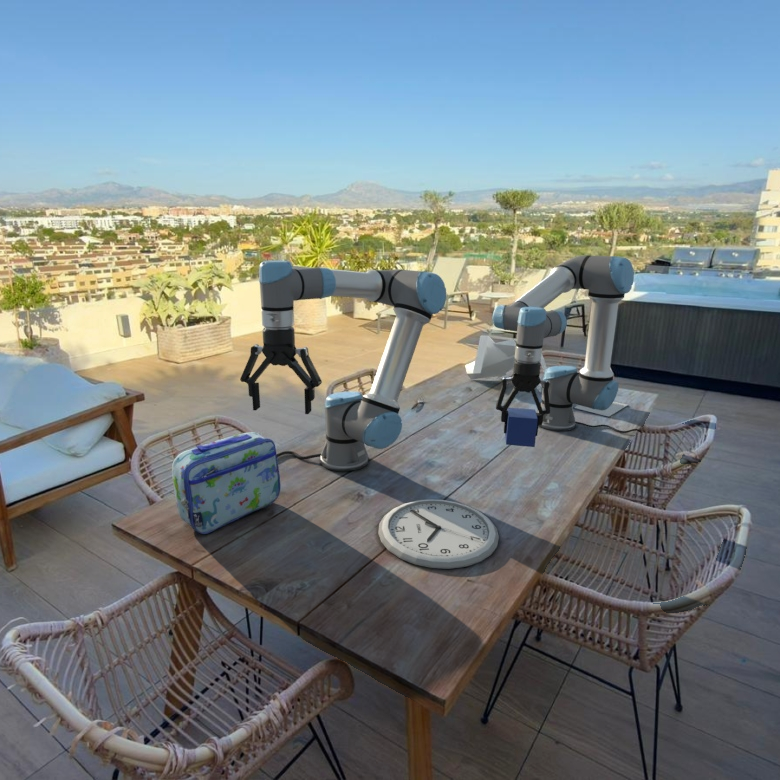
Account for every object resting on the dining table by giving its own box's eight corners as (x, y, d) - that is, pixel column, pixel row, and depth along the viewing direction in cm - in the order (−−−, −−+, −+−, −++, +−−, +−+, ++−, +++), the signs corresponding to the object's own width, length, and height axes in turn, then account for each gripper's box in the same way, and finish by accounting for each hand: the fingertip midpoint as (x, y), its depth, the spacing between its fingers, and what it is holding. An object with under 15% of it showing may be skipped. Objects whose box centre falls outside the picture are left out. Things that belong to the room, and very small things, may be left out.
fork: (408, 410, 218) (408, 405, 217) (419, 398, 232) (419, 394, 231) (414, 410, 217) (414, 406, 216) (425, 399, 231) (425, 395, 231)
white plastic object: (486, 421, 262) (466, 398, 237) (467, 348, 284) (447, 320, 260) (558, 397, 250) (545, 370, 225) (533, 322, 272) (517, 290, 247)
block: (506, 444, 157) (508, 416, 154) (505, 434, 165) (507, 407, 162) (534, 447, 155) (537, 418, 153) (532, 436, 163) (535, 409, 161)
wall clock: (515, 560, 118) (382, 565, 115) (514, 566, 118) (382, 571, 116) (482, 494, 146) (374, 497, 144) (481, 500, 147) (374, 502, 144)
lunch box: (192, 543, 125) (183, 462, 118) (173, 525, 132) (164, 448, 126) (285, 505, 142) (281, 433, 136) (263, 491, 149) (259, 422, 143)
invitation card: (608, 416, 214) (573, 407, 224) (608, 416, 214) (573, 408, 224) (628, 404, 229) (594, 396, 238) (628, 405, 229) (594, 397, 238)
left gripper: (222, 327, 124) (229, 412, 130) (324, 332, 120) (326, 419, 126) (236, 322, 131) (241, 402, 137) (332, 326, 127) (334, 409, 133)
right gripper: (490, 361, 151) (484, 434, 157) (567, 366, 147) (557, 440, 154) (490, 355, 158) (485, 425, 164) (563, 360, 154) (554, 431, 161)
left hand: (282, 410), depth 132 cm, fingers open, 13 cm apart
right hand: (520, 433), depth 159 cm, fingers closed on block, 8 cm apart
